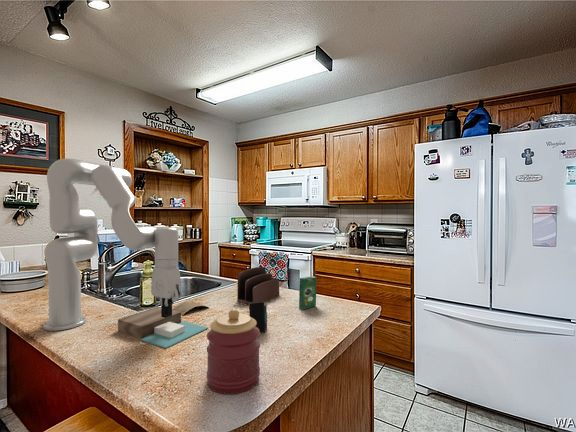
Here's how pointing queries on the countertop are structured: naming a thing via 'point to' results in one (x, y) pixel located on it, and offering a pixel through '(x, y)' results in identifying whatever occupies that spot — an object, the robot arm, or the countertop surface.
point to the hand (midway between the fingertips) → (166, 316)
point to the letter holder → (256, 286)
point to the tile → (169, 329)
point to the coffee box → (307, 292)
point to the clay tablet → (185, 307)
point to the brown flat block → (146, 322)
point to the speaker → (259, 315)
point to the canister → (233, 353)
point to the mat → (168, 342)
